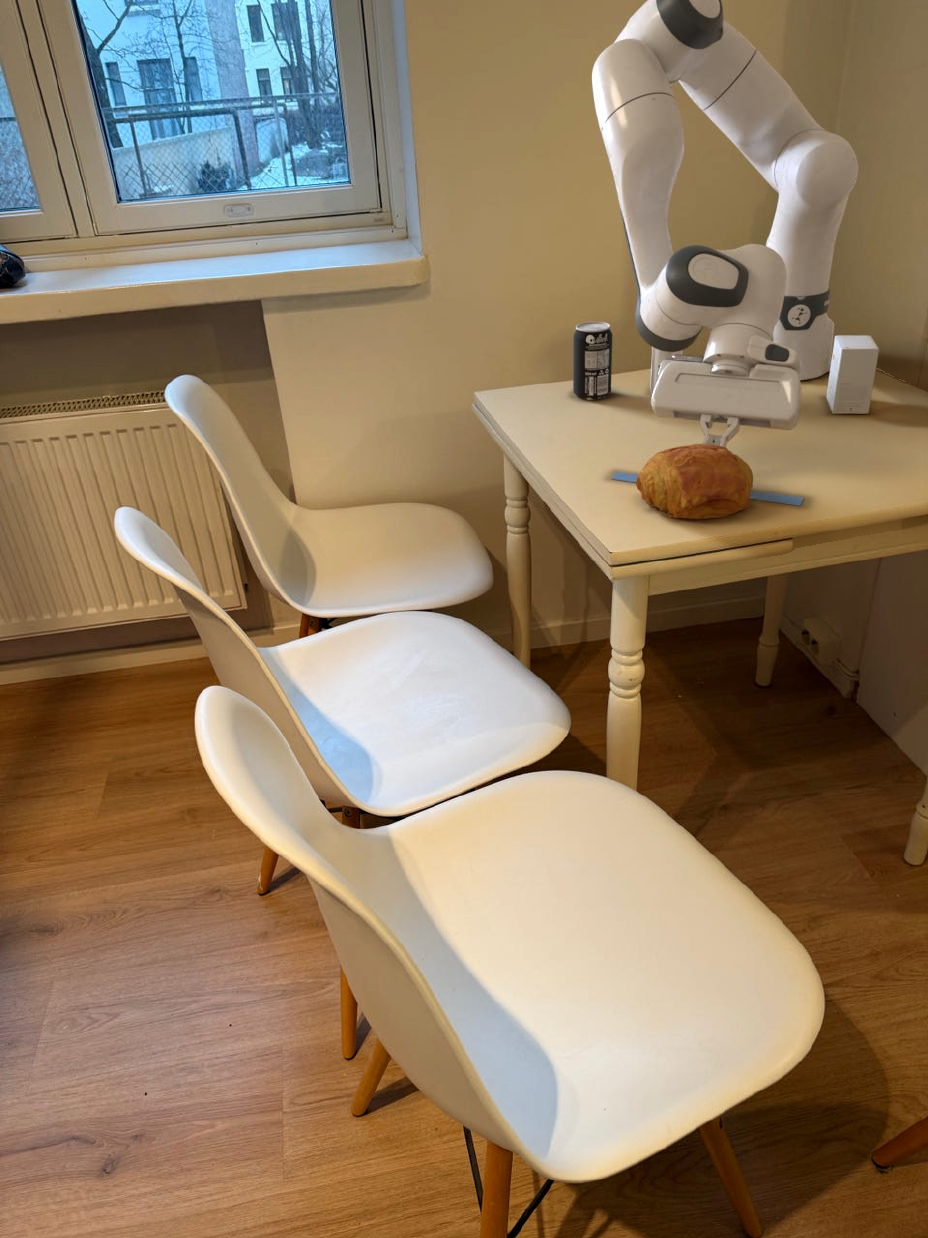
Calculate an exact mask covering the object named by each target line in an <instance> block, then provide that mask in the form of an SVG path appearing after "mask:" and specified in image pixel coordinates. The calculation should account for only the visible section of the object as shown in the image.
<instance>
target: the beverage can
mask: <svg viewBox="0 0 928 1238" xmlns="http://www.w3.org/2000/svg"><path fill="white" fill-rule="evenodd" d="M610 328H611V324H609V323H608V322H605V321H585V322H580V323H578V324H576V326H575V331H574V333H573V344H572V345H573V348H572V349H573V350H572V351H573V352H572V353H573V355H572V356H573V357H572V358H573V359H572V360H573V363H572V365H573V367H572V368H573V369H572V371H573V373H572V374H573V377H572V379H573V381H572V382H573V383H572V384H573V386H572V390H573V393H574V394H575V396H576V397H577V398H579V399H581V400H588V401H594V400H595V401H596V400H601V399H604V398H606V397H607V396H609V394H610V393H611V392H612V369H613V365H612V364H613V332H612V331H611V329H610Z"/></svg>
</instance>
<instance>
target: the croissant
mask: <svg viewBox="0 0 928 1238" xmlns="http://www.w3.org/2000/svg"><path fill="white" fill-rule="evenodd" d="M637 475H638V476H637V480H636V483H635V486H636V489H637V491H639V492H640V495H641V499H642V501H645V503H646V504H649V505H650V507H651V508H654V507H656V508H658V510H660V511H662V512H667V513H666V515H668V517H670V518H674V519H688V520H689V519H690V520H702V519H704V520H705V519H720V518H724V517H727V516H729V515H732V514H735V513H737V512H740V511H742V510H745V509H747V508H749V507H751V503H750V500H751V499H750V493H751V491H752V488H753V486H754V485H753V484H754V474H753V470H752V468H751V467H750V465H749V464H748V462H745V460H743V459H742V458H741V457H740V456H738V455H737V454H734V453H733V452H732V451H731V450H729V449H728V448H727V446H726V447H721V446H718V445H713V444H702V443H693V444H688V445H679V446H675V447H671V448H667V449H664V450H661V451H659V452H657V453H655V454H654V455H653V456H652V457H650V458H649V460H648V461H647V462H646V463H645V464H644V465H643V467H642V469H641V470H640V471H639V472H638V473H637Z"/></svg>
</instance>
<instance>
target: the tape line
mask: <svg viewBox="0 0 928 1238" xmlns="http://www.w3.org/2000/svg"><path fill="white" fill-rule="evenodd" d="M637 476H638V474H632V473H625V472H616V473H615V474H614V475H613V476H612V478H611V480H614V481H622V482H627V483H628V482H629V483H635V484H636V480H637ZM804 499H805V497H801V496H800V497H798V496H792V495H784V494H778V493H771V492H764V491H757V490H751V493H750V500H756V501H764V502H770V503H777V504H785V505H792V506H798V507H801V506H802V503H803V502H804Z"/></svg>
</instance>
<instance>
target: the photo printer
mask: <svg viewBox="0 0 928 1238" xmlns="http://www.w3.org/2000/svg"><path fill="white" fill-rule="evenodd" d="M683 352H684V350H681V351H677V352H665V351H661V350H658V349H656V348H654V347H652V346H651V365H650V383H649V384H650V385H649V390H650V394H652V395H653V392H654V389H655V386H656V384H657V381H658V379H659V377H658V373H659V369H660V366H661V363H662V361H663V360H665V359H666V358H669V357H673V355H674V354H682V355H684V354H683Z"/></svg>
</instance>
